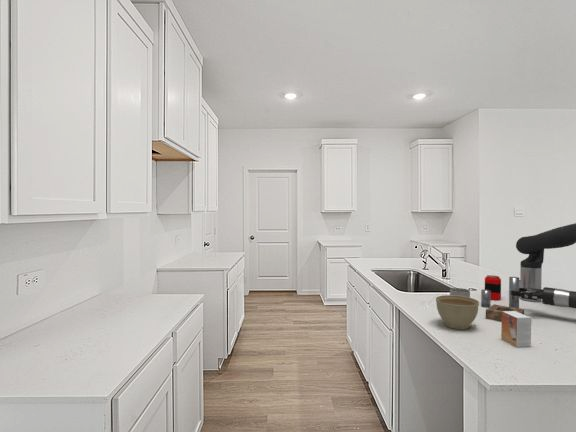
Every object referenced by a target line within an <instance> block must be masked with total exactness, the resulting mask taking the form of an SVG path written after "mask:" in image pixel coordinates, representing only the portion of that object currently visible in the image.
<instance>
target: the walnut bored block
mask: <svg viewBox="0 0 576 432" xmlns="http://www.w3.org/2000/svg"><path fill="white" fill-rule="evenodd" d="M502 311H517V312H519V313H521V314H523V315H525V309H524V308H520V307H519V308H513V307H509V306H507V305H500V304H495V303H493V304H491V306H490V307H489V308H486V309H485V320H490V321H496V322H501V323H502Z"/></svg>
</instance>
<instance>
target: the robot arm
mask: <svg viewBox="0 0 576 432" xmlns="http://www.w3.org/2000/svg"><path fill="white" fill-rule="evenodd" d="M575 244H576V222H575V223H571V224H566V225H562V226H560V227H556V228H552V229H550V230H546V231H543V232H540V233H538V234H535V235H528V236H522V237H520V238H518V239H517V240H516V242H515V247H516V250H517V251H518V253H521V254H523V255H528V257H526V258H524V259H523V260H521V261H520V265H519V267H520V272H519V275H520V277H519V291H513V290H512V291H511V295H513V296H519V300H522V301H527V302H535V303H536V302H538V303H539V302H542V304H543V305H547V306H554V307H561V308H569V309H570V308H571V309H576V291H573V290H568V289H562V288H556V287H555V288H554V287H546V286H545V287H543V288H542V270H543V269H542V266H543V263H544V260H545V259H544V258H545V257H544V256H545V250H548V249H549V250H550V249H552V250H553V249H558V248H564V247H569V246H573V245H575Z"/></svg>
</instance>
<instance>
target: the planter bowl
mask: <svg viewBox="0 0 576 432" xmlns="http://www.w3.org/2000/svg"><path fill="white" fill-rule="evenodd" d="M435 302H436V309H437V312H438V315H439V317H441V320H442V321H443V323H444V326H446V327H447V328H451V329H454V330H455V329H456V330H468V329H469V328H470V327H471V325H472V323H473V322H474V321H475V319H476V317H477V315H478V312H479V305H480V301H479V300H478V299H475V298H473V297H471V296H470V297H465V296H457V295H450V294H446V295H445V294H443V295H439V296H436V297H435Z"/></svg>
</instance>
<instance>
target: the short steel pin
mask: <svg viewBox="0 0 576 432" xmlns="http://www.w3.org/2000/svg"><path fill="white" fill-rule="evenodd" d="M480 296H481V297H480V300H481V301H480V302H481V303H480V307H482V308H486V309H487V308H489V307H490V306H492V304H491V302H492V300H491V291H490V290H486V289H485V288H483V289H481V294H480Z"/></svg>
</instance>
